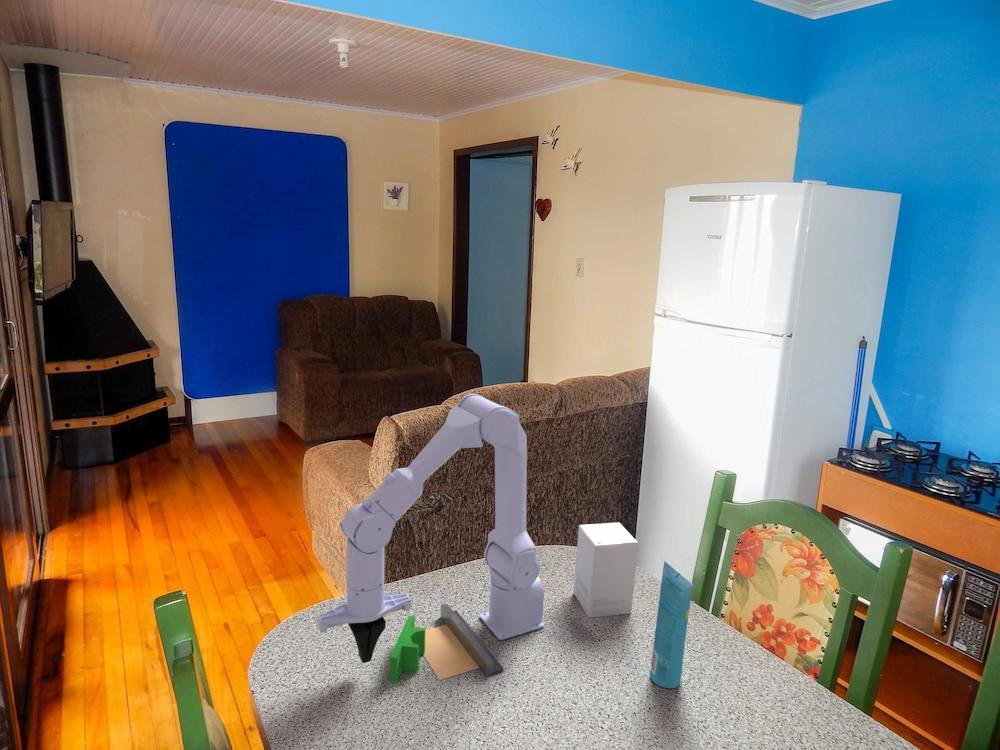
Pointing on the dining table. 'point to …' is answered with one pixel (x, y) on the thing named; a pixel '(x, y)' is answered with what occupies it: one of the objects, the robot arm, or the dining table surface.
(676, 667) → the tube
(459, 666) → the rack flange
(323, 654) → the dining table surface
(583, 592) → the supplement box
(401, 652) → the pipe clamp
